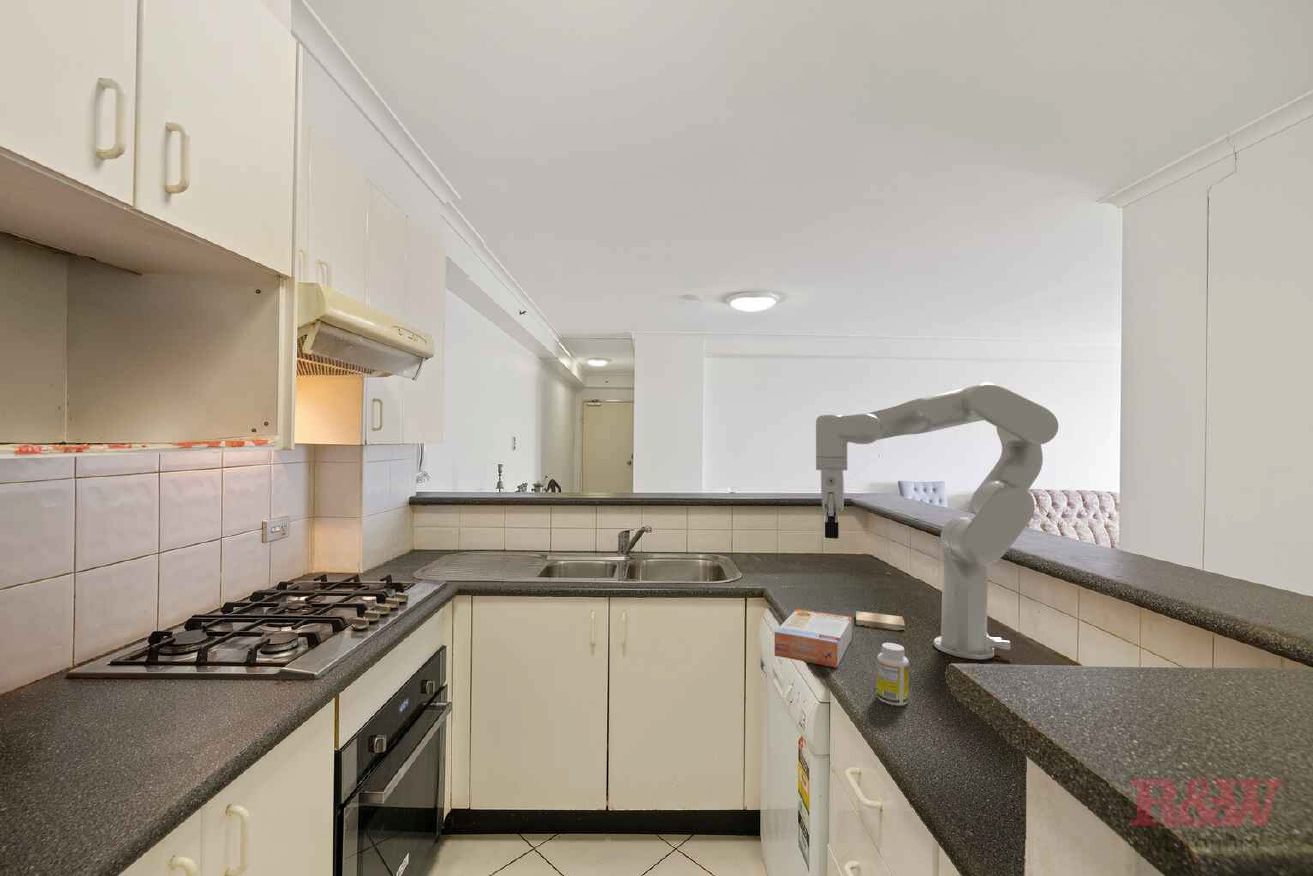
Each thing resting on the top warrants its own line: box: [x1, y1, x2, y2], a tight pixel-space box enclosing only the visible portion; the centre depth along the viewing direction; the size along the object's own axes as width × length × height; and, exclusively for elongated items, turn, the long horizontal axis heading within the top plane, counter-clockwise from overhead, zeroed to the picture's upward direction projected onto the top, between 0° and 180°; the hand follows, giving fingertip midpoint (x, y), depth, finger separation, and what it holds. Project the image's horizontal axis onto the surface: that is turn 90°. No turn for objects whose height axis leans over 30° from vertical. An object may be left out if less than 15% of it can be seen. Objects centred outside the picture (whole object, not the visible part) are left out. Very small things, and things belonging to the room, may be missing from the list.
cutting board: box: [855, 610, 906, 632], centre depth 150 cm, size 12×8×2 cm, turn 71°
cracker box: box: [774, 608, 853, 669], centre depth 131 cm, size 14×6×21 cm
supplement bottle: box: [876, 642, 910, 707], centre depth 105 cm, size 6×6×10 cm
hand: (831, 537), depth 137 cm, fingers closed
